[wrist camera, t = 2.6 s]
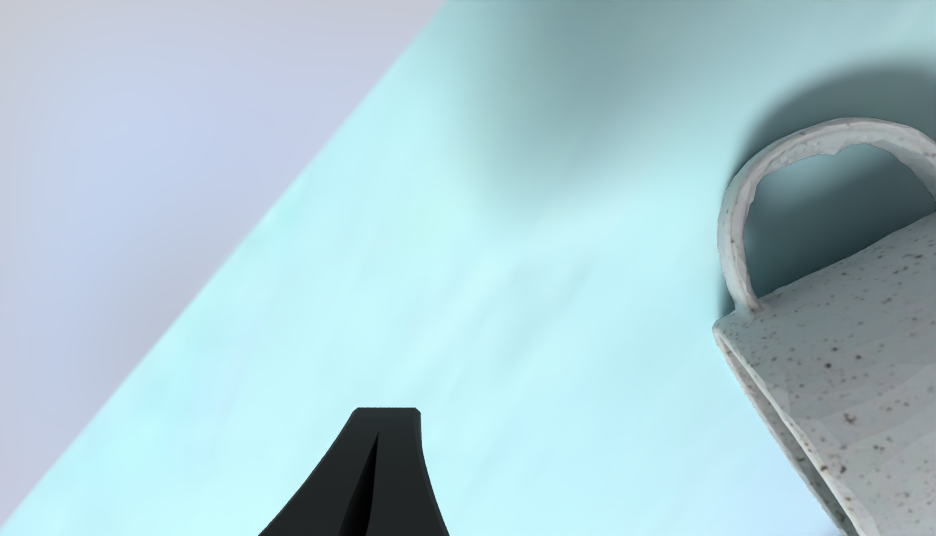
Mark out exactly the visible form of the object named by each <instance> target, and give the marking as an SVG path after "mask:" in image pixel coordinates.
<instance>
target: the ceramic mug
mask: <svg viewBox="0 0 936 536" xmlns="http://www.w3.org/2000/svg"><path fill="white" fill-rule="evenodd" d="M863 143H867V144H870V145H873V146H875V147H878V148H881V149H885V150H887V151H889V152H890V153H892V154H893V155H895V156H896V158H897V159H898V160H899V161H900V162H901V163H903V164H905V165H907V166H908V167H909V168H910V169H911V170H912V172H913V173H914V174H915V175H916V176H917V178H918V179H919V180H920V181H921V182H922V183H923V184H924V185H925V186H926V188H927V189H928V191H929V192H930V194H931V195H932V197H933V198H934V200H935V202H936V141H934V140H933V139H931V138H930V137H928V136H927V135H925V134H924V133H922V132H921V131H919V130H917V129H915V128H912V127H910V126H908V125H903V124H899V123H895V122H890V121H885V120H881V119H877V118H863V117H851V118H838V119H834V120H829V121H825V122H822V123H819V124H816V125H813V126H810V127H807V128H804V129H801V130H799V131H796V132H794V133H792V134H789V135H787V136H785V137H783V138H781V139H779V140H776V141H775V142H773V143H771V144H769V145H768V146H766V147H765V148H764V149H762V150H761V151H760V152H758V153H757V154H755V155H754V156H753V157H752V158H751V159H749V160H748V161H747V162H746V164H745V165H744V166H743V167H742V168H741V170H740V171H739V172H738V173H737V174H736V175H735V177H734V178H733V179H732V181H731V183H730V184H729V186H728V188H727V189H726V192H725V196H724V199H723V202H722V205H721V209H720V213H719V217H718V227H717V246H718V251H719V256H720V262H721V266H722V270H723V273H724V277H725V280H726V284H727V287H728V290H729V292H730V294H731V296H732V298H733V300H734V303H735V310H734V311H732V312H731V313H729V314H728V315H726V316H724V317H722V318H721V319H719V320H717V321H716V322H715V323H714V325H713V327H712V330H713V334H714V338H715V340H716V343H717V346H718V347H719V348H720V350H721V351H722V353H723V355H724V357H725V359H726V361H727V363H728V365H729V367H730V369H731V371H732V372H733V374H734V375H735V377H736V379H737V380H738V382H739V384H740V385H741V387H742V388H743V390H744V393H745V395H746V396H747V397H748V399H749V400H750V401H751V403H752V405H753V407H754V408H755V410H756V411H757V413H758V414H759V416H760V417H761V419H762V420H763V422H764V423H765V425H766V426H767V428H768V430H769V431H770V433H771V435H772V436H773V438H774V439H775V440H776V442H777V443H778V445H779V446H780V448H781V449H782V451H783V452H784V454H785V456H786V457H787V459H788V461H789V462H790V464H791V465H792V466H793V468H794V469H795V470H796V472H797V473H798V474H799V476H800V477H801V478H802V480H803V481H804V483H805V484H806V486H807V487H808V489H809V491H810V492H811V493H812V494H813V496H814V497H815V498H816V499H817V501H818V502H819V503H820V505H821V507H822V509H823V510H824V511H825V512H826V513H827V515H828V516H829V517H830V519H831V520H832V522H833V523H834V525H835V526H836V527H837V529H838V530H839V531H840V532H841V534H842V535H843V536H936V211H935V212H933V213H931V214H929V215H927V216H924V217H922V218H921V219H919V220H917V221H915V222H914V223H912V224H910V225H908V226H906V227H904V228H902V229H898V230H896V231H894V232H892V233H890V234H889V235H887V236H885V237H884V238H882V239H880V240H879V241H877V242H875V243H874V244H872V245H870V246H868V247H867V248H865V249H863V250H861V251H859V252H857V253H855V254H854V255H852V256H850V257H848V258H844V259H842V260H840V261H838V262H836V263H834V264H831V265H829V266H827V267H825V268H823V269H821V270H818V271H816V272H814V273H811V274H809V275H806V276H804V277H802V278H800V279H798V280H796V281H794V282H792V283H790V284H788V285H786V286H782V287H780V288H778V289H776V290H775V291H773V292H772V293H770V294H767V295H765V296H764V297H760V298H759V299H758V298H757V297H756V296H755V294H754V291H753V289H752V287H751V284H750V274H749V271H748V268H747V262H746V255H745V248H744V242H743V240H744V226H745V223H746V220H747V216H748V212H749V207H750V204H751V203H752V202H753V201H754V196H755V191H756V187H757V185H758V183H759V182H760V180H761V178H763V177H764V176H766V175H768V174H770V173H772V172H774V171H776V170H778V169H780V168H783V167H785V166H787V165H790V164H792V163H794V162H796V161H799V160H801V159H804V158H808V157H811V156H814V155H818V154H829V155H835V154H837V153H838V152H840V151H841V150H843V149H844V148H846V147H848V146H849V145H851V144H863Z"/></svg>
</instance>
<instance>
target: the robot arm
mask: <svg viewBox="0 0 936 536" xmlns="http://www.w3.org/2000/svg"><path fill="white" fill-rule="evenodd" d="M258 536H450V535H449V533H448V531H447V528H446V526H445V523H444V521H443V518H442V515H441V513H440V510H439V507H438V504H437V501H436V499H435V495H434V492H433V489H432V486H431V482H430V479H429V475H428V471H427V468H426V464H425V460H424V455H423V450H422V438H421V413H420V411H418V410H417V409H416V408H357V409H356V410H354V411H353V412H352V414H351V416H350V417H349V419H348V421H347V422H346V424H345V426H344V427H343V429H342V430H341V432H340V433H339V435H338V436H337V438H336V439H335V441H334V442H333V444H332V445H331V447H330V448H329V450H328V451H327V453H326V454H325V455H324V457H323V458H322V459H321V461H320V462H319V463H318V465H317V466H316V467H315V469H314V470H313V472H312V473H311V474H310V476H309V477H308V478H307V480H306V481H305V482H304V483H303V485H302V486H301V487H300V488H299V489H298V491H297V492H296V493H295V494H294V495H293V497H292V498H291V499H290V500H289V501H288V503H287V504H286V505H285V506H284V507H283V509H282V510H281V511H280V512H279V513H278V515H277V516H276V517H275V518H274V519H273V520H272V521H271V522H270V523H269V524H268V526H267V527H266V528H265V529H264V530H263V531H262V532H261V533H260V534H259V535H258Z"/></svg>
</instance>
